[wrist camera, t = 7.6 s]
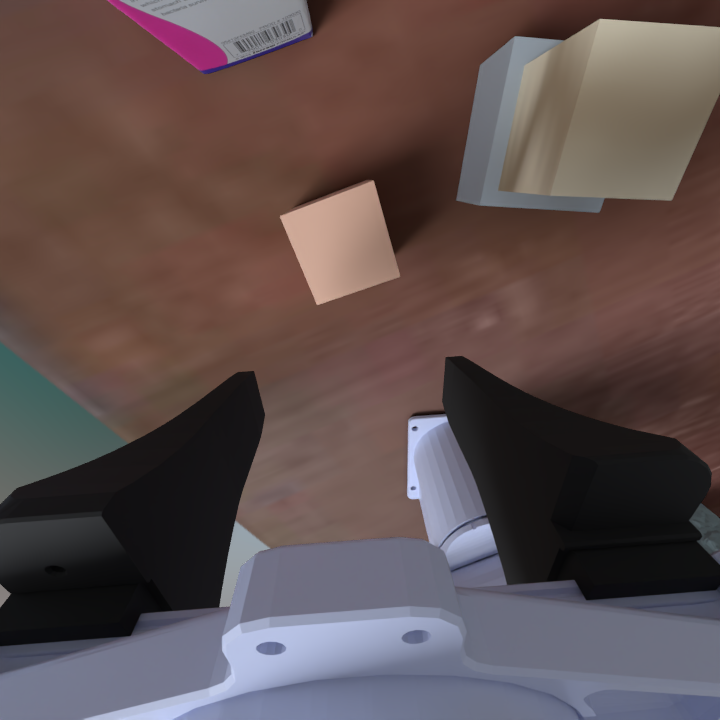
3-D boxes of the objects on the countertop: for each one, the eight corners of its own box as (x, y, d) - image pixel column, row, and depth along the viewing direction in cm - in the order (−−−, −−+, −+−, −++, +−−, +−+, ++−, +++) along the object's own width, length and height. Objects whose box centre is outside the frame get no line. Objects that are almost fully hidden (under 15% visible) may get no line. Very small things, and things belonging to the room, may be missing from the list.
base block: (553, 206, 20) (599, 212, 16) (455, 200, 19) (479, 205, 16) (594, 76, 17) (660, 49, 13) (478, 66, 16) (515, 36, 13)
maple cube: (589, 194, 16) (671, 200, 12) (497, 190, 15) (549, 195, 12) (631, 71, 14) (748, 29, 10) (524, 65, 13) (600, 18, 9)
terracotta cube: (389, 257, 21) (400, 276, 17) (322, 281, 21) (317, 305, 17) (367, 179, 18) (373, 180, 15) (293, 207, 19) (279, 216, 15)
